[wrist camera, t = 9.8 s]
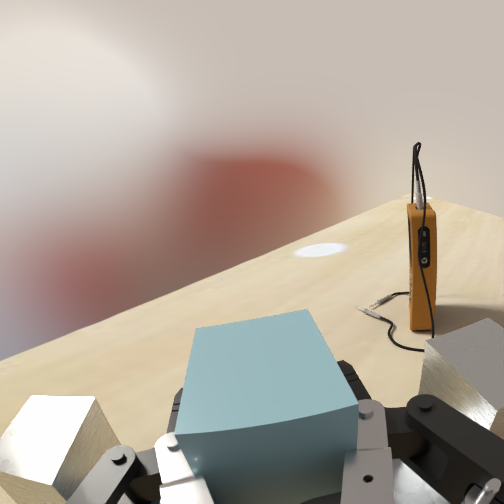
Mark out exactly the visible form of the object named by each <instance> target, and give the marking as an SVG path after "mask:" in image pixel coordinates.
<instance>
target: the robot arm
mask: <svg viewBox="0 0 504 504" xmlns="http://www.w3.org/2000/svg"><path fill="white" fill-rule="evenodd" d="M337 364H338V366H339V367H340V369H341V371H342V373H343V375H344V377H345V379H346V380H347V382H348V384H349V386H350V388H351V390H352V392H353V393H354V395H355V397H356V399H357V401H358V403H359V416H358V437H357V448H355V449H350V450H345V455H344V470H343V483H342V491H341V492H337V493H333V494H329V495H325V496H321V497H316V498H312V499H310V500H307V501H305V502H303V503H300V504H394V482H393V466H392V459H400V460H401V461H402V462H403V463H404V464H405V465H407V466H408V467H409V468H410V469H411V470H412V471H413V472H414V473H416V474H417V475H418V476H419V477H420V478H421V479H422V480H424V481H425V482H426V483H427V484H428V485H429V486H431V487H432V488H433V489H434V490H435V491H436V492H438V493H439V494H440V495H441V496H442V497H443V498H445V499H446V500H447V501H448V502H449V503H451V504H504V439H502V438H500V437H499V436H497V435H496V434H494V433H492V432H491V431H489V430H488V429H486V428H485V427H483V426H481V425H480V424H478V423H477V422H475V421H473V420H472V419H470V418H469V417H467V416H466V415H464V414H462V413H461V412H459V411H458V410H456V409H455V408H453V407H452V406H450V405H448V404H447V403H445V402H444V401H442V400H441V399H439V398H438V397H436V396H434V395H430V394H421V395H417V396H415V397H413V398H411V399H410V400H409V401H408V403H407V406H406V407H399V408H386V407H384V406H383V405H382V404H381V403H380V402H378V401H375V400H372V399H371V397H370V395H369V394H368V392H367V390H366V389H365V387H364V385H363V383H362V382H361V380H360V379H359V377H358V375H357V374H356V372H355V370H354V369H353V367H352V365H350V364H349V363H347V362H345V361H344V360H342V361H338V362H337ZM182 392H183V388H181V389H180V390H179V392H178V393H177V394H176V395H175V398H174V402H173V407H172V412H171V416H170V420H169V425H168V429H167V434H165V435H163V436H161V437H160V438H159V439H158V440H157V442H156V444H155V447H154V448H152V449H149V450H145V451H141V452H137V453H135V451H134V450H133V449H132V448H131V447H129V446H125V445H118V446H114V447H112V448H110V449H108V450H107V451H106V452H105V453H104V454H103V456H102V457H101V458H100V459H99V461H98V462H97V463H96V465H95V466H94V467H93V469H92V470H91V471H90V472H89V474H88V475H87V476H86V478H85V479H84V480H83V481H82V483H81V484H80V485H79V487H78V488H77V489H76V490H75V492H74V493H73V494H72V496H71V497H70V498H69V500H68V501H67V502H66V503H65V504H159V502H160V500H161V499H162V501H163V504H218V503H217V501H216V499H215V497H214V495H213V493H212V491H211V489H210V487H209V484H208V482H207V480H206V478H205V476H204V474H200V475H194V474H193V473H192V471H191V469H190V467H189V465H188V463H187V461H186V459H185V457H184V455H183V453H182V451H181V448H180V446H179V444H178V442H177V440H176V438H175V436H174V432H175V427H176V422H177V417H178V412H179V407H180V402H181V397H182Z"/></svg>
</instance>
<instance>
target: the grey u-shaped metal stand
mask: <svg viewBox="0 0 504 504" xmlns="http://www.w3.org/2000/svg"><path fill="white" fill-rule="evenodd" d="M421 394H430V395H434V396H436V397H438V398H439V399H441V400H442V401H444V402H445V403H447V404H448V405H450V406H452V407H453V408H455V409H456V410H458V411H459V412H461V413H462V414H464V415H466V416H467V417H469V418H470V419H472V420H473V421H475V422H477V423H478V424H480V425H481V426H483V427H485V428H486V429H488V430H489V431H491V432H492V433H494V434H496V435H497V436H499V437H500V438H502V439H504V328H503V327H502V326H500V325H499V324H497V323H496V322H494V321H493V320H491V319H490V318H488V317H487V318H485V319H483V320H480V321H478V322H475V323H473V324H470V325H468V326H465V327H462V328H460V329H457V330H454V331H452V332H449V333H446V334H444V335H441V336H438V337H435V338H432V339H429V340H426V342H425V351H424V360H423V368H422V375H421V382H420V388H419V394H418V395H421ZM118 445H121V444H120V442H119V440H118V438H117V437H116V435H115V433H114V432H113V430H112V428H111V426H110V424H109V423H108V421H107V419H106V417H105V415H104V413H103V411H102V410H101V408H100V406H99V404H98V402H97V400H96V398H95V397H59V396H36V395H32V396H31V397H30V398H29V400H28V401H27V402H26V404H25V405H24V406H23V408H22V409H21V410H20V412H19V413H18V414H17V416H16V417H15V419H14V420H13V421H12V423H11V424H10V425H9V427H8V428H7V430H6V431H5V433H4V434H3V435H2V437H1V438H0V486H1V487H2V488H3V489H4V490H5V491H6V492H7V494H8V495H9V496H10V497H11V498H12V499H13V500H14V501H15V502H16V503H17V504H65V503H66V502H67V501H68V500H69V498H70V497H71V496H72V494H73V493H74V492H75V490H76V489H77V488H78V487H79V485H80V484H81V483H82V481H83V480H84V479H85V478H86V476H87V475H88V474H89V472H90V471H91V470H92V469H93V467H94V466H95V465H96V463H97V462H98V461H99V459H100V458H101V457H102V456H103V454H104V453H105V452H106V451H107V450H108V449H110V448H112V447H114V446H118ZM392 466H393V482H394V504H451V503H449V502H448V501H447V500H446V499H445V498H443V497H442V496H441V495H440V494H439V493H438V492H436V491H435V490H434V489H433V488H432V487H431V486H429V485H428V484H427V483H426V482H425V481H424V480H422V479H421V478H420V477H419V476H418V475H417V474H416V473H414V472H413V471H412V470H411V469H410V468H409V467H408V466H407V465H405V464H404V463H403V462H402V461H401V460H400V459H392ZM159 504H163V501H162V499H161V500H160V502H159Z"/></svg>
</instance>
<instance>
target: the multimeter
mask: <svg viewBox="0 0 504 504" xmlns="http://www.w3.org/2000/svg"><path fill="white" fill-rule="evenodd" d="M418 145H419V147H418V150H417V146H418ZM420 148H421V143H420V142H418V143H416V144H415V145H414V146H413V164H412V166H413V167H412V198H411V204H407V213H408V230H409V258H410V292H398V293H394V294H391V295H387V296H386V297H384V298H382V299H380V300H378V301H377V303H375V304H373V305H371V306H370V307H372V306H374V305H376V304H381V303H382V302H384V301H386V300H387V299H389V298H390V297H392V296H393V295H396V294H409V293H410V297H409V308H410V329H411V330H432V338H434V314H435V300H436V279H437V228H436V214H435V211H433V209H432V208H431V207H430V205H429V204H428V203H426V191H425V184H424V179H423V175H422V171H421V167H420V163H419V159H418V155H419V151H420ZM414 164H415V171H416V185H417V186H416V187H417V193H416V200H417V203H414V204H413V193H414ZM418 169H419V173H420V177H421V182H422V187H423V196H424V203H423V200H422V194H421V188H420V181H419V174H418ZM356 308H358V309H360V310H362V311H364V313H366V314H369V315H371V316H373V317H376V318H379V319H383V320H385V321H387V322H389V323H391V326H390V328H389V330H388V336H389V338H390V340H391V341H392V342H393V343H394V344H395V345H397V346H399V347H401V348H404V349H408V350H414V351H422V352H424V351H425V349H416V348H410V347H406V346H402V345H400V344H398V343H396V342H395V341H394V340H393V339H392V337H391V335H390V331H391V329H392V327H393V322H391V321H390V320H388V319H386V318H383V317H381V316H380V315H378V314H376V313H374V312H372V311H369V310H367V309H365V310H364V309H362V308H359V307H356Z"/></svg>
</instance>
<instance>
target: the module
mask: <svg viewBox="0 0 504 504" xmlns="http://www.w3.org/2000/svg"><path fill="white" fill-rule="evenodd" d="M358 416H359V403H358V401H357V399H356V397H355V395H354V393H353V392H352V390H351V388H350V386H349V384H348V382H347V380H346V379H345V377H344V375H343V373H342V371H341V369H340V367H339V366H338V364H337V362H336V360H335V358H334V356H333V355H332V353H331V351H330V349H329V347H328V345H327V344H326V342H325V340H324V338H323V336H322V334H321V333H320V331H319V329H318V327H317V325H316V323H315V322H314V320H313V318H312V316H311V314H310V313H309V311H308V309H305V310H300V311H295V312H290V313H285V314H280V315H274V316H269V317H263V318H258V319H252V320H246V321H241V322H235V323H229V324H222V325H216V326H210V327H203V328H196V331H195V336H194V340H193V345H192V349H191V354H190V359H189V363H188V368H187V373H186V377H185V382H184V387H183V392H182V397H181V402H180V407H179V412H178V417H177V422H176V427H175V432H174V436H175V438H176V440H177V442H178V444H179V446H180V448H181V451H182V453H183V455H184V457H185V459H186V461H187V463H188V465H189V467H190V469H191V471H192V473H193V474H194V475H200V474H204V476H205V478H206V480H207V482H208V484H209V487H210V489H211V491H212V493H213V495H214V497H215V499H216V501H217V503H218V504H300V503H303V502H305V501H307V500H310V499H312V498H316V497H321V496H325V495H329V494H333V493H337V492H341V491H342V483H343V470H344V455H345V450H350V449H355V448H357V437H358Z"/></svg>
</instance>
